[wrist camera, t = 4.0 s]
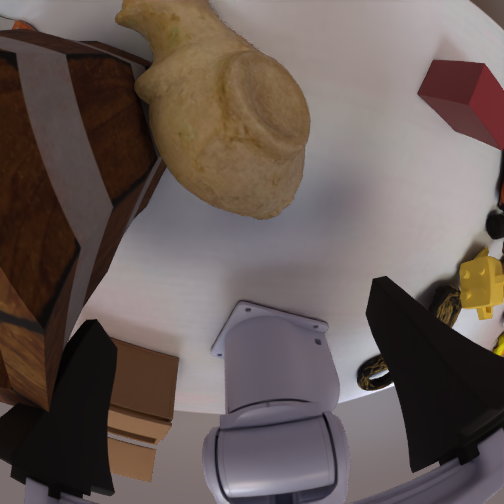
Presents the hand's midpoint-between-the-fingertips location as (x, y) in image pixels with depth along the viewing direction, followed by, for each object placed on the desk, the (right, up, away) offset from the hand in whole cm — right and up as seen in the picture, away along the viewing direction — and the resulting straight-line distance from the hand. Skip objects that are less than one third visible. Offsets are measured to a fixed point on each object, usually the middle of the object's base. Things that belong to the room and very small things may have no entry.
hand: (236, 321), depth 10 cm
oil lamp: (+1, +11, -1) cm, 11 cm away
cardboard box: (-14, -11, +18) cm, 26 cm away
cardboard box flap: (-16, -22, +13) cm, 30 cm away
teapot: (+23, 0, +10) cm, 25 cm away
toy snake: (+23, -12, +19) cm, 32 cm away
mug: (-13, +11, +4) cm, 18 cm away
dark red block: (+15, +14, +4) cm, 22 cm away
